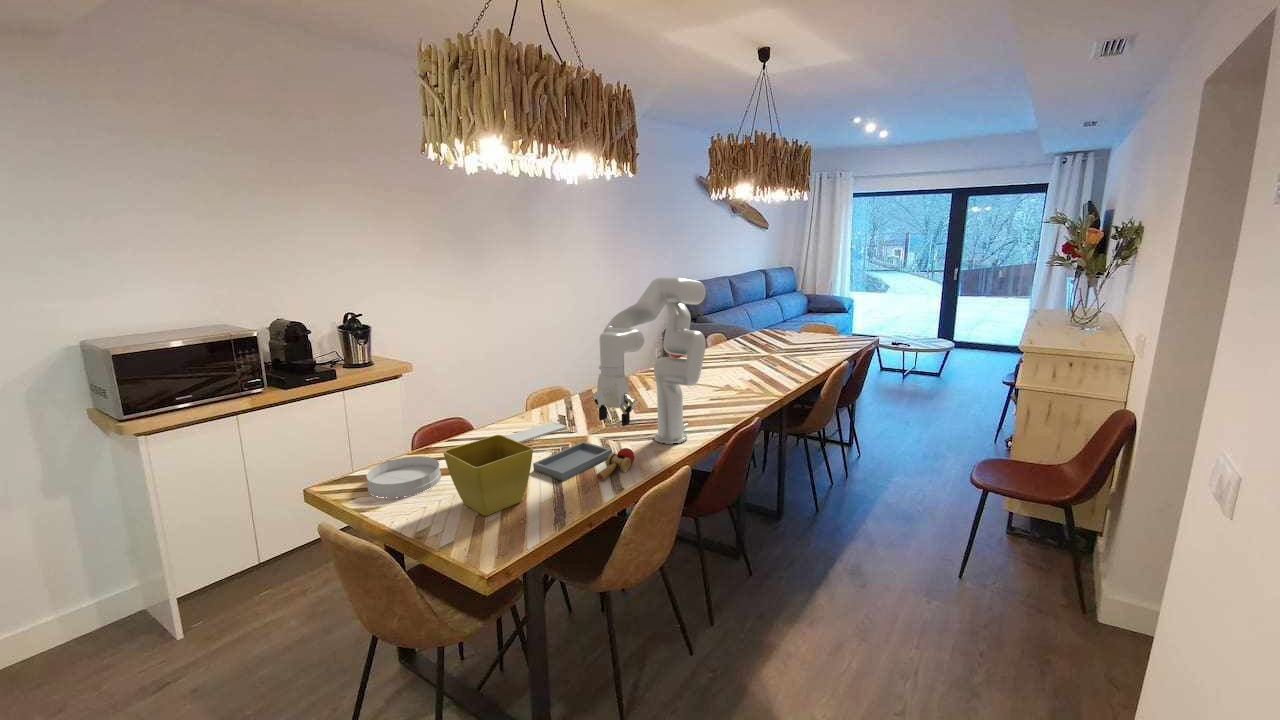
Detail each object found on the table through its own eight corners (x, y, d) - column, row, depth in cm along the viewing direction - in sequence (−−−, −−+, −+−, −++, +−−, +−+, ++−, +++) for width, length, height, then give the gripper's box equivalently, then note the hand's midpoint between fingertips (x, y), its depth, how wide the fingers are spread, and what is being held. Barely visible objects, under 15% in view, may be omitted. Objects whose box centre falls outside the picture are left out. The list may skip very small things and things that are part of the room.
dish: (455, 475, 186) (454, 461, 185) (404, 504, 166) (402, 489, 165) (406, 466, 195) (404, 452, 194) (351, 492, 175) (349, 478, 174)
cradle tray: (583, 448, 205) (582, 441, 204) (612, 456, 197) (611, 449, 196) (533, 471, 187) (533, 463, 186) (563, 481, 178) (562, 473, 178)
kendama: (612, 488, 176) (642, 460, 190) (607, 470, 174) (637, 444, 188) (593, 487, 180) (623, 460, 194) (588, 469, 179) (619, 444, 193)
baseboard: (483, 443, 215) (500, 451, 206) (483, 436, 214) (499, 444, 206) (549, 423, 236) (567, 429, 227) (549, 416, 235) (566, 422, 227)
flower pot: (503, 482, 179) (498, 433, 175) (538, 500, 166) (534, 447, 162) (447, 504, 165) (441, 451, 162) (481, 525, 153) (475, 468, 149)
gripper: (584, 369, 180) (586, 420, 183) (626, 376, 169) (627, 430, 173) (600, 365, 185) (602, 414, 189) (641, 371, 175) (642, 423, 179)
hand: (614, 422), depth 181 cm, fingers open, 9 cm apart
